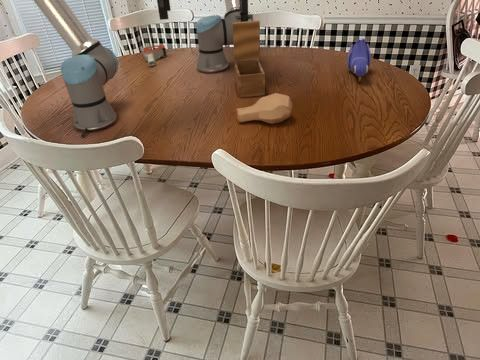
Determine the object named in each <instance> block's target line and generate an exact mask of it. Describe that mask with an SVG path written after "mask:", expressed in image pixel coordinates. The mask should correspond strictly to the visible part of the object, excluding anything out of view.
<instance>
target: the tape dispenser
mask: <svg viewBox="0 0 480 360" xmlns="http://www.w3.org/2000/svg"><path fill="white" fill-rule="evenodd" d="M140 51H141V53H142V56H143V58H144V60H145V61H146V62H147V66H148V67H153V66H155V65H156V64H157V61H156V60H159V59H161V58H165V57H167V52H166V51H167V50H166V46H165V45H164V44H159V45H151V46H146V47H144V46H143V47H141V48H140Z"/></svg>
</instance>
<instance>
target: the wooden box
mask: <svg viewBox="0 0 480 360" xmlns="http://www.w3.org/2000/svg"><path fill="white" fill-rule="evenodd" d="M233 62H234V61H233ZM233 65H234V81H235V86H236V90H237V95H238V98H239V99H240V98H241V99H242V98H251V97H264V96H266V73H265V71H264V68H263V67H262V64H261V62H260V59H259V60H249V61H237V62H234V63H233Z"/></svg>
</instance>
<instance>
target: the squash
mask: <svg viewBox="0 0 480 360" xmlns="http://www.w3.org/2000/svg"><path fill="white" fill-rule="evenodd" d="M292 109H293V102H292V100H291V97H290V96H288V95H286V94H282V93H279V92H278V93H277V92H273V93H271V94H269V95H265V96H261V97H260V98H259V99H257V101H256V102H255V103H254V104H252V105H249V106H246V107H238V108H236V115H237V118H236V119H237V120H238V122H239V123H245V122H249V121H262V122H263V123H267V124H270V125H271V124H272V125H273V124H279V123H280V124H281V123H282V122H284V121H285V120H287V119H289V118H290V117H291V112H292Z"/></svg>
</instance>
